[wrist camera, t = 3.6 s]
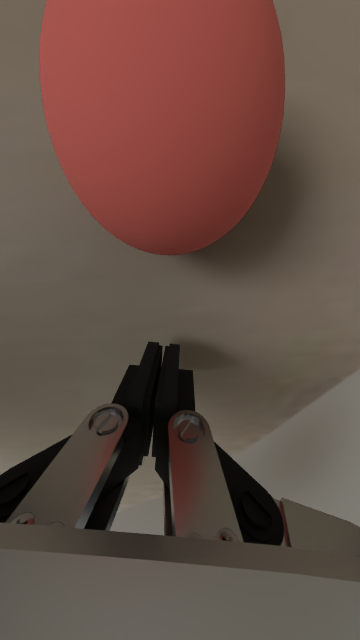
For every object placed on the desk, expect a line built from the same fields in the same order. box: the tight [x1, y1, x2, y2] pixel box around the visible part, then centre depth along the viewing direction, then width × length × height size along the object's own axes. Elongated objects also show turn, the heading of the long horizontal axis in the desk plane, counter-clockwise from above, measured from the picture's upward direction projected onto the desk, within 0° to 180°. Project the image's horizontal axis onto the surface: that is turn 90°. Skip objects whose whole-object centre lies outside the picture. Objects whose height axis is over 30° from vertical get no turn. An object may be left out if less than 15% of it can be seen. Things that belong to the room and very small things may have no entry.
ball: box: [40, 0, 285, 255], centre depth 5 cm, size 6×6×6 cm
